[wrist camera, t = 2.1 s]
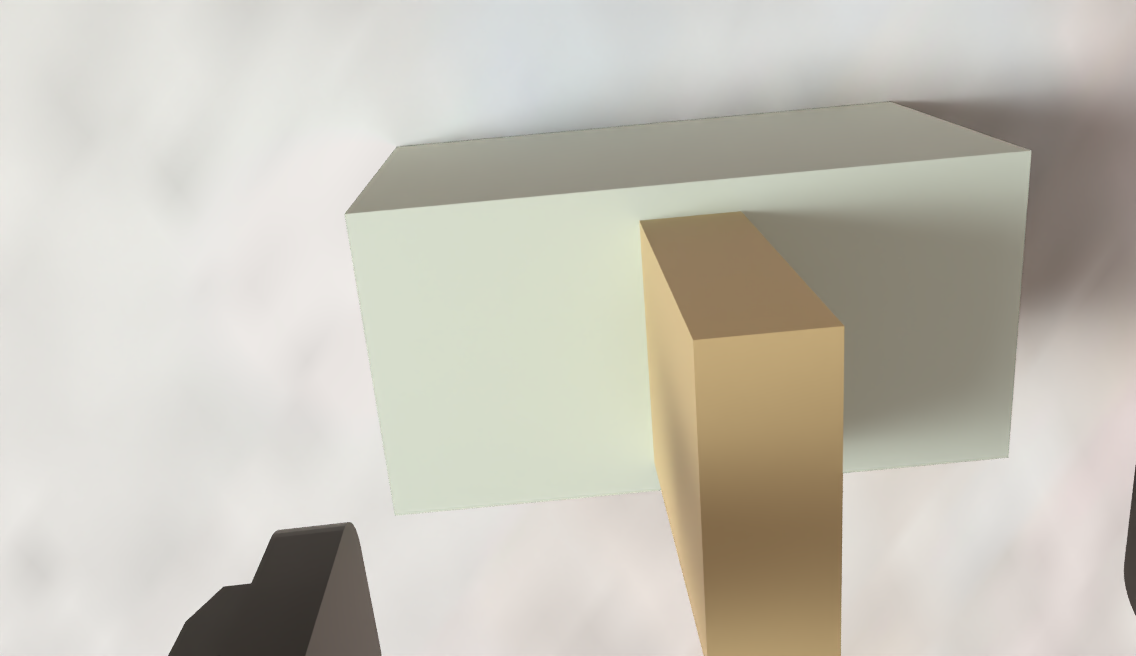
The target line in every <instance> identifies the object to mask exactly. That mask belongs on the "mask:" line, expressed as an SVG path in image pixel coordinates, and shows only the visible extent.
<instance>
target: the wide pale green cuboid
mask: <svg viewBox="0 0 1136 656" xmlns="http://www.w3.org/2000/svg"><path fill="white" fill-rule="evenodd" d="M1031 152H1032V151H1031V150H1029V149H1026V148H1023V147H1020V146H1017V145H1014V144H1011V143H1008V142H1006V141H1003V140H1000V139H997V138H994V137H991V136H988V135H985V134H983V133H980V132H977V131H974V130H971V129H968V128H965V127H962V126H960V125H957V124H954V123H951V122H948V121H945V120H942V119H939V118H937V117H934V116H931V115H928V114H925V113H922V112H919V111H916V110H914V109H911V108H908V107H905V106H902V105H899V104H896V103H894V102H891V101H889V102H878V103H867V104H856V105H845V106H835V107H824V108H813V109H802V110H791V111H780V112H770V113H759V114H748V115H737V116H726V117H715V118H704V119H694V120H683V121H672V122H661V123H650V124H639V125H628V126H618V127H607V128H596V129H585V130H574V131H563V132H553V133H542V134H531V135H520V136H509V137H498V138H487V139H477V140H466V141H455V142H444V143H433V144H422V145H411V146H401V147H396V148H395V150H394V151H393V152H392V153H391V155H390V156H389V157H388V159H387V160H386V161H385V163H384V164H383V165H382V166H381V168H380V169H379V170H378V172H377V173H376V174H375V175H374V177H373V178H372V179H371V181H370V182H369V183H368V184H367V186H366V187H365V188H364V190H363V191H362V192H361V194H360V195H359V196H358V197H357V199H356V200H355V201H354V203H353V204H352V205H351V206H350V208H349V209H348V210H347V212H346V213H345V220H346V226H347V232H348V238H349V244H350V250H351V256H352V262H353V268H354V274H355V280H356V286H357V292H358V298H359V304H360V310H361V316H362V321H363V327H364V333H365V339H366V345H367V351H368V357H369V363H370V369H371V375H372V381H373V387H374V393H375V399H376V405H377V411H378V417H379V423H380V429H381V435H382V441H383V447H384V453H385V459H386V465H387V471H388V477H389V483H390V489H391V495H392V501H393V507H394V513H395V516H396V515H406V514H417V513H427V512H438V511H448V510H459V509H470V508H480V507H491V506H501V505H512V504H523V503H533V502H544V501H554V500H565V499H576V498H586V497H597V496H607V495H618V494H628V493H639V492H650V491H660V490H661V491H662V495H663V499H664V503H665V506H666V510H667V514H668V518H669V522H670V526H671V530H672V534H673V538H674V542H675V545H676V549H677V553H678V557H679V561H680V565H681V569H682V573H683V577H684V580H685V584H686V588H687V592H688V596H689V600H690V604H691V608H692V612H693V616H694V619H695V623H696V627H697V631H698V635H699V639H700V643H701V647H702V651H703V654H704V656H841V585H842V498H843V473H851V472H861V471H872V470H883V469H893V468H904V467H914V466H925V465H936V464H946V463H957V462H967V461H978V460H989V459H999V458H1008V454H1009V441H1010V428H1011V415H1012V402H1013V388H1014V375H1015V362H1016V349H1017V336H1018V323H1019V309H1020V296H1021V283H1022V270H1023V257H1024V244H1025V231H1026V217H1027V204H1028V191H1029V178H1030V165H1031Z"/></svg>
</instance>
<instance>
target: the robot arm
mask: <svg viewBox="0 0 1136 656" xmlns="http://www.w3.org/2000/svg"><path fill="white" fill-rule="evenodd" d="M1124 579H1125V586H1126V590H1127V594H1128V598H1129V601H1130V604H1131V606H1132V608H1133V611H1134V613H1135V615H1136V467H1135V475H1134V484H1133V493H1132V501H1131V510H1130V519H1129V528H1128V536H1127V545H1126V554H1125V562H1124ZM168 656H381V650H380V644H379V639H378V634H377V628H376V623H375V618H374V613H373V608H372V603H371V598H370V592H369V587H368V582H367V577H366V572H365V567H364V562H363V556H362V551H361V546H360V542H359V538H358V534H357V532H356V529H355V527H354V525H353V524H352V523H350V522H347V523H338V524H329V525H320V526H311V527H302V528H293V529H284V530H277V531H275V533H274V534H273V535H272V537H271V539H270V542H269V544H268V546H267V549H266V551H265V553H264V555H263V558H262V560H261V562H260V565H259V567H258V569H257V572H256V574H255V576H254V579H253V581H252V583H251V584H243V585H234V586H225V587H223V588H222V589H221V590H219V591H218V592H217V593H216V594H215V595H214V596H213V597H212V598H211V599H210V600H209V601H208V602H207V603H205V604H204V605H203V606H202V607H201V608H200V609H199V610H198V611H197V612H196V613H195V614H194V615H193V616H191V617H190V618H189V619H188V620H187V621H186V622H185V624H184V626H183V628H182V630H181V632H180V634H179V636H178V638H177V640H176V642H175V644H174V645H173V647H172V649H171V651H170V653H169V655H168Z"/></svg>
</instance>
